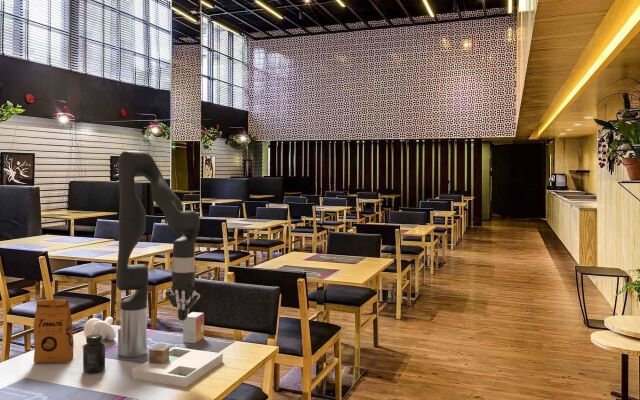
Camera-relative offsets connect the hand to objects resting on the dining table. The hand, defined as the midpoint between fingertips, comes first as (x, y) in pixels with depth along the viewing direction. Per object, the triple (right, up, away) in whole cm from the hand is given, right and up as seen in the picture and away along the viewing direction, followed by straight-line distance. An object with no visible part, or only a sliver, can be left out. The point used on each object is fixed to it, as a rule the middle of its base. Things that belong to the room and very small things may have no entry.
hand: (182, 319), depth 172 cm
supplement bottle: (-29, -17, -2) cm, 34 cm away
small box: (-5, -16, +33) cm, 37 cm away
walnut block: (-8, -14, 0) cm, 16 cm away
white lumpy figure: (-40, -16, +30) cm, 53 cm away
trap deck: (-1, -17, +1) cm, 17 cm away
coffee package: (-48, -16, +7) cm, 51 cm away
